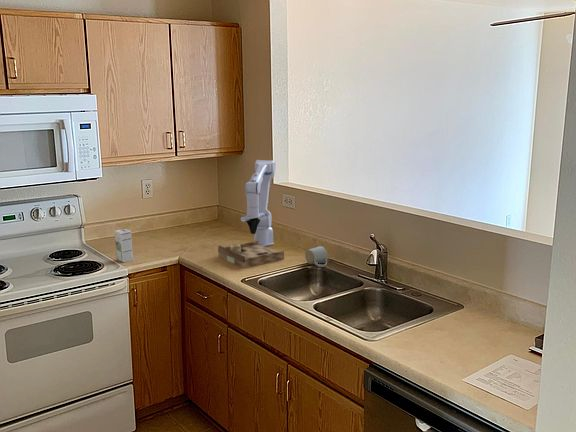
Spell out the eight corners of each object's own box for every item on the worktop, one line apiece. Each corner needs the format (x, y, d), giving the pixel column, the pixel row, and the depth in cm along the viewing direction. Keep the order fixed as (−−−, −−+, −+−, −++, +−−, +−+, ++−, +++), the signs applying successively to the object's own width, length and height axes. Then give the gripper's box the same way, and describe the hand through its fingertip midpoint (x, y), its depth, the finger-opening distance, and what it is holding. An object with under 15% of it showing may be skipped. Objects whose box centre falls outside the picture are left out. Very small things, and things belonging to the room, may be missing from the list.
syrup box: (133, 260, 271) (131, 230, 267) (122, 262, 267) (120, 232, 263) (127, 257, 275) (125, 228, 271) (116, 260, 271) (114, 230, 267)
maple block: (239, 252, 274) (239, 243, 273) (241, 255, 270) (240, 246, 269) (230, 253, 273) (229, 244, 272) (231, 256, 269) (231, 246, 268)
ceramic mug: (303, 262, 268) (304, 246, 266) (318, 259, 272) (318, 244, 270) (317, 269, 259) (317, 252, 257) (331, 266, 264) (332, 250, 262)
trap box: (257, 248, 290) (257, 238, 289) (284, 258, 273) (284, 247, 272) (218, 256, 277) (218, 245, 275) (243, 268, 260) (243, 256, 258)
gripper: (257, 202, 285) (257, 229, 289) (236, 207, 275) (236, 234, 278) (267, 204, 281) (267, 231, 284) (246, 209, 270) (246, 237, 273)
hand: (253, 233), depth 281 cm, fingers closed
